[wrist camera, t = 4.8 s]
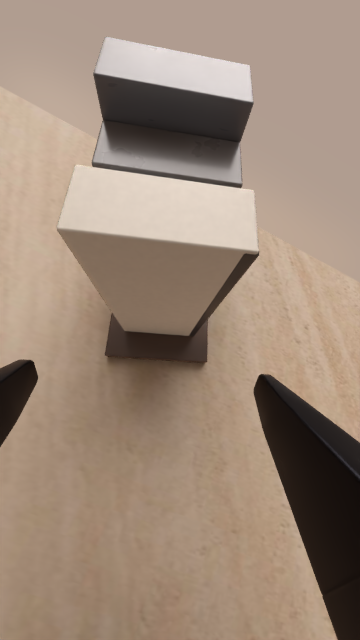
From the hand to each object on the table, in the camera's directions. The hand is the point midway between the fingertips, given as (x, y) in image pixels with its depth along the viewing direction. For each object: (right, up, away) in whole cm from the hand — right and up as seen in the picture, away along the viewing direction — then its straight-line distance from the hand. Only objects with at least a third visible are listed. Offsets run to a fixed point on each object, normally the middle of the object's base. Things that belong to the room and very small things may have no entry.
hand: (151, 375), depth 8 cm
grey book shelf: (-1, +6, +15) cm, 16 cm away
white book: (-1, +2, +13) cm, 13 cm away
